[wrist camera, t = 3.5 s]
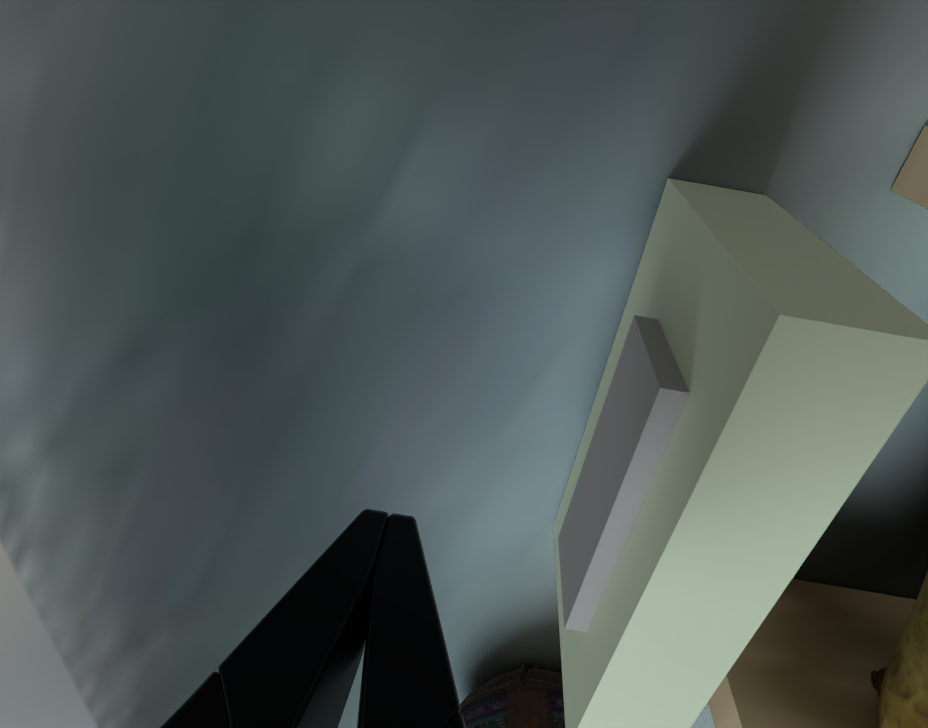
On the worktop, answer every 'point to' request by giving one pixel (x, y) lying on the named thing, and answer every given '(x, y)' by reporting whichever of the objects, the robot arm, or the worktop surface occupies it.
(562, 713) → the mate gourd
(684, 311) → the pale green block
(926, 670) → the potato
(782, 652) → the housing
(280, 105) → the worktop surface
